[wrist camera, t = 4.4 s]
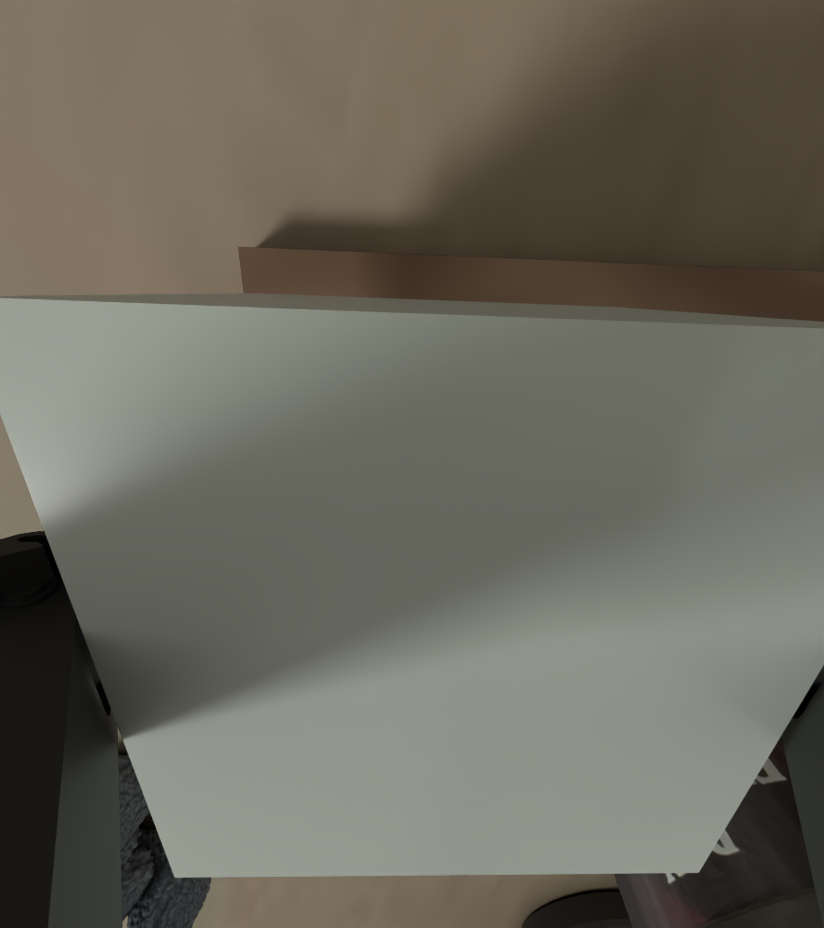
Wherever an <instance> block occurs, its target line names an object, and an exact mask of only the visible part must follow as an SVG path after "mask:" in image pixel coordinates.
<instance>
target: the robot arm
mask: <svg viewBox="0 0 824 928" xmlns="http://www.w3.org/2000/svg"><path fill="white" fill-rule="evenodd" d="M781 737H782V741H783V746H784V750H785V755H786V759H787V764H788V768H789V773H790V778H791V782H792V787H793V791H794V796H795V800H796V805H797V809H798V814H799V818H800V823H801V827H802V832H803V837H804V841H805V846H806V850H807V855H808V859H809V864H810V868H811V873H812V877H813V882H814V886H815V891H816V896H817V900H818V905H819V909H820V914H821V918H822V923H823V927H824V665H823V667H822V669H821V670H820V672H819V674H818V675H817V677H816V679H815V680H814V682H813V684H812V685H811V687H810V689H809V690H808V692H807V694H806V695H805V697H804V699H803V700H802V702H801V704H800V705H799V707H798V709H797V710H796V712H795V714H794V715H793V717H792V719H791V720H790V722H789V724H788V725H787V727H786V729H785V730H784V732H783V734H782V735H781ZM0 928H122V888H121V848H120V809H119V769H118V729H117V723H116V720H115V718H114V715H113V712H112V710H111V707H110V704H109V702H108V699H107V696H106V694H105V691H104V688H103V686H102V683H101V680H100V678H99V675H98V672H97V670H96V667H95V664H94V662H93V659H92V657H91V654H90V651H89V649H88V646H87V643H86V641H85V638H84V635H83V633H82V630H81V627H80V625H79V622H78V619H77V617H76V614H75V611H74V609H73V606H72V603H71V601H70V598H69V595H68V593H67V590H66V587H65V585H64V582H63V579H62V577H61V574H60V571H59V569H58V566H57V563H56V561H55V558H54V556H53V553H52V550H51V548H50V545H49V542H48V540H47V537H46V534H45V532H44V531H37V532H30V533H23V534H18V535H14V536H11V537H7V538H4V539H0ZM522 928H633V926H632V923H631V921H630V918H629V915H628V912H627V909H626V907H625V904H624V901H623V898H622V895H621V892H598V893H589V894H583V895H578V896H574V897H570V898H566V899H563V900H560V901H557V902H554V903H552V904H550V905H547V906H545V907H543V908H542V909H540V910H538V911H537V912H535V913H534V914H532V915H531V916H530V917H529V918H528V919H527V920H526V921H525V922H524V924H523V925H522Z"/></svg>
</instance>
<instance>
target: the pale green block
mask: <svg viewBox="0 0 824 928" xmlns="http://www.w3.org/2000/svg"><path fill="white" fill-rule="evenodd" d="M0 415H1V417H2V420H3V423H4V425H5V428H6V431H7V433H8V436H9V439H10V441H11V444H12V447H13V449H14V452H15V455H16V457H17V460H18V462H19V465H20V468H21V470H22V473H23V476H24V478H25V481H26V484H27V486H28V489H29V492H30V494H31V497H32V500H33V502H34V505H35V508H36V510H37V513H38V516H39V518H40V521H41V524H42V526H43V529H44V532H45V534H46V537H47V540H48V542H49V545H50V548H51V550H52V553H53V556H54V558H55V561H56V563H57V566H58V569H59V571H60V574H61V577H62V579H63V582H64V585H65V587H66V590H67V593H68V595H69V598H70V601H71V603H72V606H73V609H74V611H75V614H76V617H77V619H78V622H79V625H80V627H81V630H82V633H83V635H84V638H85V641H86V643H87V646H88V649H89V651H90V654H91V657H92V659H93V662H94V664H95V667H96V670H97V672H98V675H99V678H100V680H101V683H102V686H103V688H104V691H105V694H106V696H107V699H108V702H109V704H110V707H111V710H112V712H113V715H114V718H115V720H116V723H117V726H118V728H119V731H120V734H121V736H122V739H123V742H124V744H125V747H126V750H127V752H128V755H129V758H130V760H131V763H132V765H133V768H134V771H135V773H136V776H137V779H138V781H139V784H140V787H141V789H142V792H143V795H144V797H145V800H146V803H147V805H148V808H149V811H150V813H151V816H152V819H153V821H154V824H155V827H156V829H157V832H158V835H159V837H160V840H161V843H162V845H163V848H164V851H165V853H166V856H167V859H168V861H169V864H170V866H171V869H172V872H173V874H174V877H175V878H188V877H299V876H409V875H520V874H631V873H699V872H700V870H701V868H702V867H703V865H704V863H705V862H706V860H707V858H708V857H709V855H710V853H711V852H712V850H713V848H714V847H715V845H716V843H717V842H718V840H719V838H720V837H721V835H722V833H723V832H724V830H725V828H726V827H727V825H728V823H729V822H730V820H731V818H732V817H733V815H734V813H735V812H736V810H737V808H738V807H739V805H740V803H741V802H742V800H743V798H744V797H745V795H746V793H747V792H748V790H749V788H750V787H751V785H752V783H753V782H754V780H755V778H756V777H757V775H758V773H759V772H760V770H761V769H762V767H763V765H764V764H765V762H766V760H767V759H768V757H769V755H770V754H771V752H772V750H773V749H774V747H775V745H776V744H777V742H778V740H779V739H780V737H781V735H782V734H783V732H784V730H785V729H786V727H787V725H788V724H789V722H790V720H791V719H792V717H793V715H794V714H795V712H796V710H797V709H798V707H799V705H800V704H801V702H802V700H803V699H804V697H805V695H806V694H807V692H808V690H809V689H810V687H811V685H812V684H813V682H814V680H815V679H816V677H817V675H818V674H819V672H820V670H821V669H822V667H823V665H824V322H819V321H805V320H791V319H777V318H763V317H749V316H735V315H721V314H707V313H693V312H679V311H665V310H651V309H637V308H623V307H603V306H577V305H551V304H525V303H499V302H473V301H447V300H420V299H394V298H368V297H342V296H316V295H290V294H264V293H238V294H138V295H39V296H0Z"/></svg>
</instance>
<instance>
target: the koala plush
mask: <svg viewBox="0 0 824 928" xmlns="http://www.w3.org/2000/svg"><path fill="white" fill-rule="evenodd" d="M118 769H119V809H120V848H121V888H122V922H123V920H124V919H125V917H126V916H128V923H127V927H128V928H192V926H193V923H194V920H195V918H196V917H197V915H198V913H199V911H200V910H201V908H202V906H203V902H204V901H205V899H206V896H207V895H206V894H207V893H208V892H209V889H210V887H209V886H210V882H211V877H188V878H175V877H174V874H173V872H172V869H171V866H170V864H169V861H168V859H167V856H166V853H165V851H164V848H163V845H162V843H161V840H160V837H159V835H158V832H157V830H154V829H152V830H150V829H147V830H145V829H141V830H140V829H139V828H138V826H139V825H140V824H141V823H142V821H143V820H144V818H145V816H147V815H148V814H149V813H150V811H149V808H148V805H147V803H146V800H145V797H144V795H143V792H142V789H141V787H140V784H139V781H138V779H137V776H136V773H135V771H134V768H133V765H132V763H131V760H130V758H129V755H118Z"/></svg>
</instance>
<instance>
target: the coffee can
mask: <svg viewBox="0 0 824 928" xmlns="http://www.w3.org/2000/svg"><path fill="white" fill-rule="evenodd" d="M614 875H615V878H616V881H617V884H618V887H619V889H620V892H621V895H622V898H623V901H624V904H625V907H626V909H627V912H628V915H629V918H630V921H631V923H632V926H633V928H824V927H823V923H822V918H821V914H820V909H819V905H818V900H817V896H816V891H815V886H814V882H813V877H812V873H811V868H810V864H809V859H808V855H807V850H806V846H805V841H804V837H803V832H802V827H801V823H800V818H799V814H798V809H797V805H796V800H795V796H794V791H793V787H792V782H791V778H790V773H789V768H788V764H787V759H786V755H785V750H784V746H783V741H782V737H780V739H779V740H778V742H777V744H776V745H775V747H774V749H773V750H772V752H771V754H770V755H769V757H768V759H767V760H766V762H765V764H764V765H763V767H762V769H761V770H760V772H759V773H758V775H757V777H756V778H755V780H754V782H753V783H752V785H751V787H750V788H749V790H748V792H747V793H746V795H745V797H744V798H743V800H742V802H741V803H740V805H739V807H738V808H737V810H736V812H735V813H734V815H733V817H732V818H731V820H730V822H729V823H728V825H727V827H726V828H725V830H724V832H723V833H722V835H721V837H720V838H719V840H718V842H717V843H716V845H715V847H714V848H713V850H712V852H711V853H710V855H709V857H708V858H707V860H706V862H705V863H704V865H703V867H702V868H701V870H700V872H699V873H631V874H614Z"/></svg>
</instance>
